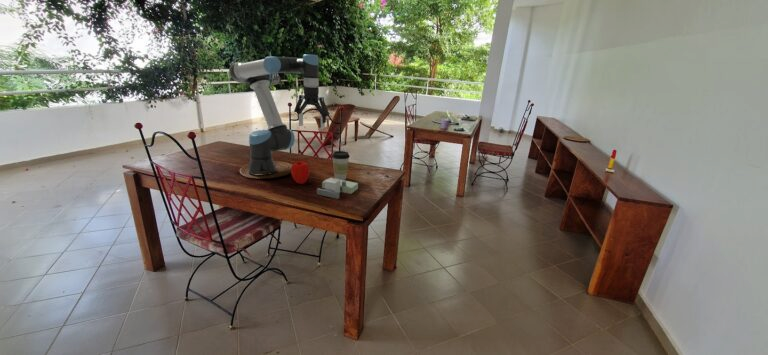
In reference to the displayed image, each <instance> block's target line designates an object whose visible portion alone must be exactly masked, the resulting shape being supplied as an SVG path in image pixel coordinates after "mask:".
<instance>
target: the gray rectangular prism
mask: <svg viewBox="0 0 768 355" xmlns="http://www.w3.org/2000/svg"><path fill="white" fill-rule="evenodd" d="M329 178H330V179H328V178H327V179H328V180H326V179H325V180H326V181H325V180H324V181H325V188H324V190H329V191H333V192H338V193H339V194H340V193H341V192H340V180H338V179H333V178H334V177H329Z"/></svg>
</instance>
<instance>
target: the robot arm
mask: <svg viewBox="0 0 768 355" xmlns="http://www.w3.org/2000/svg"><path fill="white" fill-rule="evenodd" d="M319 66H320V65H319V56H318V55H316V54H308V53H307V54H306V53H305V54H303V55H302V58H301V57H293V56H291V57H289V56H273V55H272V56H266V57H265V58H262V59H258V60H253V61H236V62H234V63H232V64H231V65H230V67H229V69H228V73H229V76H230V77H231V79H232V80H234V81H235V82H236V83H240V84H248V85H249V88H250V89H252V90H253V91H254V94H255V96H256V99H257V102H258V104H259V106H260V109H261V112H262V114H263V117H264V119H265V122H266V124H267V129H259V130H257V129H256V130H255V131H252V132H251V133H250V134H249V135H248V144H249V154H250V161H249V165H248V168H247V171H249V172H248V174H249V173H252V174H269V173H273V172H275V171H276V172H277V167H276V164H275V162H274V159H273V153H275V152H279V151H280V152H281V151H283V150H284V151H286V150H288V149H291V148H292V147H293V146H294V145H295V141H296V139H295V134H294V131H293V130H292V129H290V128H288V127H287V125H286V124H285V123H283V121H282V118H281V115H280V113H279V111H278V110H279V109H278V108H277V104H276V102H275V99H274V97H273V94H272V91H271V89H270V84H271V80H272V76H271V75H272V74H303V86H304V87H303V94H299V95H298V100H297V102H296V106H295V107H294V110H293V112H294V113H297V120H298V126H299V127H303V126H304V114H303V112H304V110H305V109H306V108H307V106H314V107H315V108H316V110H317V111H318V112H319V114H320V115H321V116H320V130H324V129H326V128H325V126H326V123H327V117H329V116H330V112H329V110H328V108H327V105H326V103H325V98H324V96H319V93H320V90H319V86H320V83H319ZM276 172H275V173H276ZM273 174H274V173H273Z"/></svg>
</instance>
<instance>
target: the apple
mask: <svg viewBox="0 0 768 355" xmlns="http://www.w3.org/2000/svg"><path fill="white" fill-rule="evenodd" d="M290 173H291V176H292V179H293V180H294V181H295V183H297V184H298V185H299V184H300V185H303V184H305V183H306V182H307V181H308V179H309V176H310V173H311V172H310V166H309V165H308V163H307V162H306V161H301V160H297V161H295V162H294V163H293V164H292V165H291V168H290Z"/></svg>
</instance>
